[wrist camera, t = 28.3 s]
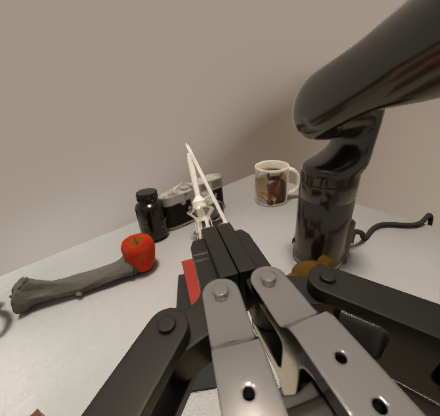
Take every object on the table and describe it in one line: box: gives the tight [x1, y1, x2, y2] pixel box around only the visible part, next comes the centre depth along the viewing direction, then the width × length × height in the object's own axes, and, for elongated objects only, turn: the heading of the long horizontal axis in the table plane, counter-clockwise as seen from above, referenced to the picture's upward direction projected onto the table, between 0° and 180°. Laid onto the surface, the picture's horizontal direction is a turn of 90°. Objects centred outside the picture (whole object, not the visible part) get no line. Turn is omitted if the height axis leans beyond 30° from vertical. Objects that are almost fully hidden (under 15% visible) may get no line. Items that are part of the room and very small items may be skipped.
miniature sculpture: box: [186, 143, 228, 239], centre depth 55 cm, size 6×9×25 cm
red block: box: [182, 259, 201, 305], centre depth 37 cm, size 4×4×14 cm
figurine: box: [287, 254, 334, 276], centre depth 37 cm, size 8×8×6 cm
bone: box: [9, 256, 138, 314], centre depth 43 cm, size 22×6×6 cm, turn 110°
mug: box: [255, 160, 300, 206], centre depth 68 cm, size 10×12×11 cm
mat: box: [176, 274, 217, 392], centre depth 37 cm, size 10×20×1 cm, turn 6°
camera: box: [158, 173, 224, 230], centre depth 61 cm, size 20×11×10 cm, turn 128°
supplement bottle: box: [135, 188, 169, 241], centre depth 56 cm, size 7×7×12 cm
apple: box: [121, 233, 155, 272], centre depth 46 cm, size 6×6×8 cm
